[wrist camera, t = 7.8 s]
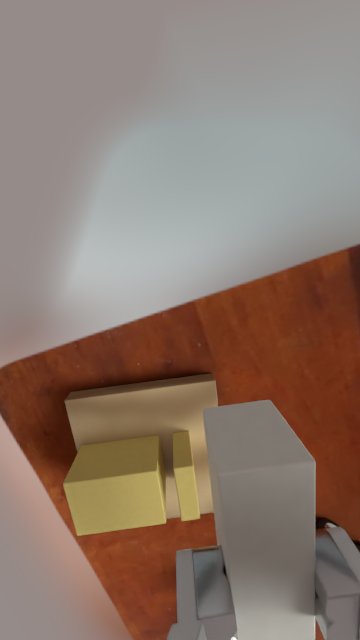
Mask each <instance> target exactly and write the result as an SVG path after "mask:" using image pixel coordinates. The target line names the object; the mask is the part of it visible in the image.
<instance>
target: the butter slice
mask: <svg viewBox="0 0 360 640" xmlns="http://www.w3.org/2000/svg"><path fill="white" fill-rule="evenodd" d="M173 470H174V476H175V483H176V489H177V496H178V502H179V509H180V515H181V520H182V521H186V520H193V519H199V518H200V512H199V504H198V495H197V487H196V479H195V471H194V464H193V456H192V448H191V441H190V433H189V431H185V432H177V433H173Z"/></svg>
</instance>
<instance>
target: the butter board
mask: <svg viewBox="0 0 360 640" xmlns="http://www.w3.org/2000/svg"><path fill="white" fill-rule="evenodd" d="M64 402H65V406H66V410H67V414H68V418H69V422H70V426H71V430H72V433H73V437H74V441H75V445H76V449H77V453H78V451H79V449H80V447H81V446H82V445H89V444H97V443H104V442H111V441H119V440H126V439H133V438H141V437H148V436H155V435H159V438H160V444H161V450H162V456H163V462H164V468H165V474H166V480H167V485H166V519H169V518H176V517H181V515H180V509H179V502H178V496H177V489H176V483H175V476H174V470H173V433H177V432H185V431H189V433H190V441H191V448H192V456H193V464H194V471H195V479H196V487H197V495H198V504H199V512H200V514H204V513H211V512H214V508H213V500H212V491H211V482H210V473H209V465H208V456H207V447H206V438H205V430H204V421H203V412H202V411H203V409H204V408H210V407H218V401H217V391H216V381H215V378H214V376H213V373H210V374H202V375H195V376H187V377H180V378H172V379H165V380H157V381H150V382H142V383H135V384H127V385H120V386H112V387H105V388H97V389H90V390H82V391H75V392H70V394H69V395H68V396H67V398H66V399H65V400H64Z"/></svg>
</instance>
